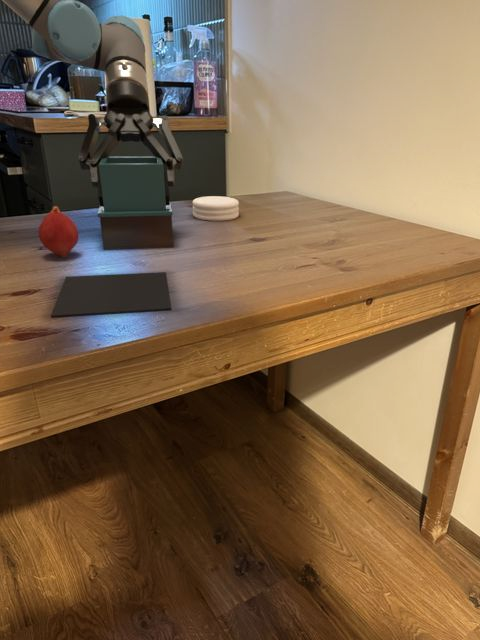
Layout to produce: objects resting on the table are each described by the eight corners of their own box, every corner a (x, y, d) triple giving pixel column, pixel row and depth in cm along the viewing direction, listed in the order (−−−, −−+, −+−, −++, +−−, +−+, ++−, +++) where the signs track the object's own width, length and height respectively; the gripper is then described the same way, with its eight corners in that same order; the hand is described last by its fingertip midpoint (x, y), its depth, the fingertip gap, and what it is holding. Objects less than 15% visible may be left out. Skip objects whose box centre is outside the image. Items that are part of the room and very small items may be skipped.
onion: (35, 259, 78) (25, 207, 75) (60, 250, 83) (51, 201, 80) (65, 264, 77) (56, 211, 73) (89, 254, 82) (81, 204, 78)
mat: (66, 279, 71) (65, 276, 70) (166, 274, 74) (165, 271, 73) (51, 318, 59) (50, 315, 58) (171, 311, 61) (171, 308, 61)
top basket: (102, 202, 91) (97, 155, 87) (168, 201, 94) (166, 156, 90) (97, 217, 81) (91, 165, 77) (172, 215, 83) (169, 164, 80)
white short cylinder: (246, 219, 107) (247, 202, 105) (203, 223, 102) (203, 206, 101) (226, 210, 114) (226, 194, 113) (186, 213, 110) (185, 197, 108)
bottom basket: (107, 233, 94) (103, 202, 91) (169, 231, 96) (168, 201, 93) (103, 250, 84) (99, 217, 81) (173, 248, 86) (171, 215, 83)
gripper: (56, 76, 84) (59, 188, 78) (190, 80, 89) (203, 186, 83) (65, 110, 91) (68, 215, 85) (189, 112, 96) (200, 212, 90)
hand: (134, 201), depth 84 cm, fingers closed on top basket, 10 cm apart
